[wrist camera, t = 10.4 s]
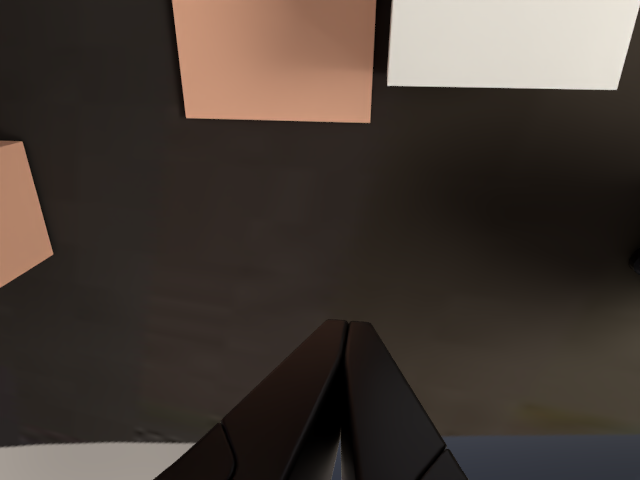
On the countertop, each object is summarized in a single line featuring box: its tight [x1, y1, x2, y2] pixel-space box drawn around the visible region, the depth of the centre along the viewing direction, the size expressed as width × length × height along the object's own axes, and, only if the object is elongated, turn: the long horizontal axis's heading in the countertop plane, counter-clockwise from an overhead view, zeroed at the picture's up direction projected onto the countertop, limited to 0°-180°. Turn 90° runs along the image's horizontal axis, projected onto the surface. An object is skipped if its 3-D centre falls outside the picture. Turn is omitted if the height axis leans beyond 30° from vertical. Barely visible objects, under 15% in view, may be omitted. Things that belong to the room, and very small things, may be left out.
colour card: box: [172, 0, 376, 123], centre depth 17 cm, size 8×6×1 cm
